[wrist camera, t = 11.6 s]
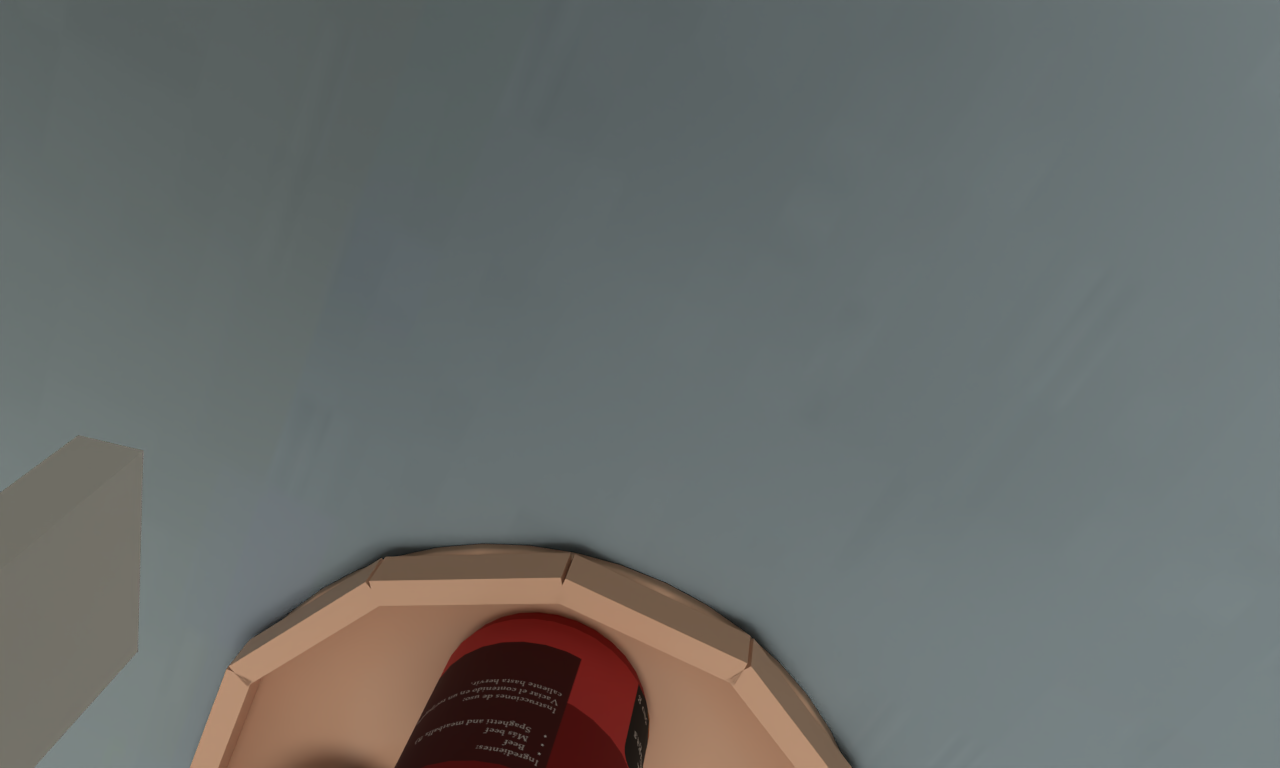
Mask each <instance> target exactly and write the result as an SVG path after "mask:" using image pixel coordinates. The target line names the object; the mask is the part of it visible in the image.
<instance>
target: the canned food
mask: <svg viewBox="0 0 1280 768" xmlns="http://www.w3.org/2000/svg"><path fill="white" fill-rule="evenodd" d="M649 722H650V718H649V713H648V708H647V703H646V698H645V694H644V690H643V687H642V685H641V682H640V680H639V678H638V675H637V673H636V671H635V670H634V668H633V667H632V665H631V664H630V662H629V661H628V659H627V658H626V656H625V655H624V654H623V653H622V652H621V651H620V650H619V649H618V648H617V647H616V646H615V645H614V644H613V643H612V642H611V641H610V640H608V639H607V638H606V637H604V636H603V635H601V634H600V633H599V632H597V631H596V630H594V629H592V628H590V627H588V626H586V625H584V624H582V623H580V622H578V621H576V620H572V619H569V618H566V617H563V616H560V615H554V614H547V613H540V612H533V613H517V614H513V615H509V616H504V617H501V618H499V619H496V620H494V621H492V622H490V623H488V624H486V625H484V626H483V627H482V628H480V629H479V630H477V631H476V632H475V633H474V634H472V635H471V636H470V637H468V638H467V639H466V640H464V641H463V642H462V643H461V644H460V645H459V646H458V648H457V649H456V650H455V651H454V653H453V654H452V655H451V657H450V659H449V661H448V663H447V665H446V666H445V668H444V670H443V672H442V674H441V676H440V678H439V680H438V682H437V684H436V686H435V688H434V690H433V692H432V694H431V696H430V698H429V700H428V702H427V704H426V706H425V708H424V710H423V712H422V714H421V716H420V718H419V720H418V722H417V724H416V726H415V728H414V730H413V732H412V734H411V736H410V738H409V740H408V742H407V744H406V746H405V748H404V750H403V752H402V754H401V756H400V758H399V760H398V762H397V763H396V765H395V767H394V768H643V764H644V759H645V754H646V749H647V744H648V739H649Z"/></svg>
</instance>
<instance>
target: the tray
mask: <svg viewBox="0 0 1280 768" xmlns="http://www.w3.org/2000/svg"><path fill="white" fill-rule="evenodd" d="M533 612H540V613H547V614H554V615H560V616H563V617H566V618H569V619H572V620H576V621H578V622H580V623H582V624H584V625H586V626H588V627H590V628H592V629H594V630H596V631H597V632H599V633H600V634H601V635H603V636H604V637H606V638H607V639H608V640H610V641H611V642H612V643H613V644H614V645H615V646H616V647H617V648H618V649H619V650H620V651H621V652H622V653H623V654H624V655H625V656H626V658H627V659H628V661H629V662H630V664H631V665H632V667H633V668H634V670H635V671H636V673H637V675H638V678H639V680H640V682H641V685H642V687H643V690H644V694H645V698H646V703H647V708H648V713H649V718H650V722H649V739H648V744H647V749H646V754H645V759H644V764H643V768H852V767H851V766H850V765H849V763H848V762H847V761H846V759H845V758H844V757H843V755H842V754H841V752H840V750H839V748H838V746H837V744H836V741H835V739H834V737H833V735H832V733H831V731H830V729H829V727H828V726H827V724H826V723H825V721H824V720H823V718H822V717H821V715H820V714H819V712H818V711H817V709H816V708H815V706H814V705H813V703H812V701H811V700H810V698H809V697H808V695H807V694H806V693H805V692H804V691H803V690H802V688H801V687H800V686H799V685H798V684H797V683H796V681H795V680H794V679H793V678H792V677H791V676H790V674H789V673H788V672H787V671H786V670H785V669H784V668H783V666H782V665H781V664H780V663H779V662H778V661H777V660H776V659H775V658H774V657H773V656H771V655H770V654H769V653H768V652H767V651H766V650H765V649H764V648H763V647H761V646H760V645H759V644H758V643H757V642H756V641H755V639H754V638H753V639H752V638H751V637H750V635H748V634H747V633H746V632H745V631H743V630H742V629H740V628H739V627H737V626H736V625H735V624H733V623H732V622H730V621H729V620H727V619H726V618H725V617H723V616H722V615H720V614H719V613H717V612H716V611H715V610H713V609H712V608H710V607H709V606H707V605H706V604H704V603H702V602H700V601H698V600H696V599H694V598H693V597H691V596H689V595H687V594H685V593H683V592H681V591H680V590H678V589H676V588H674V587H672V586H670V585H668V584H667V583H664V582H662V581H659V580H657V579H654V578H652V577H649V576H647V575H644V574H642V573H639V572H637V571H634V570H632V569H629V568H627V567H624V566H622V565H619V564H615V563H611V562H608V561H604V560H600V559H597V558H593V557H589V556H586V555H582V554H578V553H574V552H568V551H561V550H555V549H548V548H542V547H536V546H529V545H503V544H474V545H462V546H450V547H438V548H433V549H429V550H424V551H419V552H415V553H410V554H405V555H400V556H393V557H385V558H384V560H383V559H382V558H380V559H379V560H377V561H376V562H374V563H372V564H371V565H369V566H368V567H365V568H362V569H359V570H357V571H355V572H353V573H351V574H349V575H347V576H345V577H343V578H341V579H340V580H338V581H336V582H334V583H332V584H330V585H328V586H326V587H324V588H322V589H321V590H320V591H318V592H317V593H316V594H314V595H313V596H311V597H310V598H309V599H307V600H306V601H305V602H303V603H302V604H301V605H299V606H298V607H297V608H295V609H294V610H292V611H291V612H290V613H289V614H288V615H287V616H286V617H285V618H284V619H282V620H281V621H279V622H278V623H276V624H274V625H273V626H271V627H270V628H268V629H266V630H265V631H263V632H262V633H260V634H258V635H257V636H255V637H254V638H252V639H250V640H249V641H248V642H247V644H246V645H245V646H244V647H243V649H242V650H241V651H240V652H239V654H238V655H237V656H236V658H235V659H234V660H233V661H232V663H231V664H230V665H229V667H228V668H227V669H226V672H225V675H224V677H223V680H222V683H221V685H220V688H219V691H218V694H217V696H216V699H215V702H214V704H213V707H212V710H211V712H210V715H209V718H208V721H207V723H206V726H205V729H204V731H203V734H202V737H201V739H200V742H199V745H198V748H197V750H196V753H195V756H194V758H193V761H192V764H191V766H190V768H394V767H395V765H396V763H397V762H398V760H399V758H400V756H401V754H402V752H403V750H404V748H405V746H406V744H407V742H408V740H409V738H410V736H411V734H412V732H413V730H414V728H415V726H416V724H417V722H418V720H419V718H420V716H421V714H422V712H423V710H424V708H425V706H426V704H427V702H428V700H429V698H430V696H431V694H432V692H433V690H434V688H435V686H436V684H437V682H438V680H439V678H440V676H441V674H442V672H443V670H444V668H445V666H446V665H447V663H448V661H449V659H450V657H451V655H452V654H453V653H454V651H455V650H456V649H457V648H458V646H459V645H460V644H461V643H462V642H463V641H464V640H466V639H467V638H468V637H470V636H471V635H472V634H474V633H475V632H476V631H477V630H479V629H480V628H482V627H483V626H484V625H486V624H488V623H490V622H492V621H494V620H496V619H499V618H501V617H504V616H509V615H513V614H517V613H533Z"/></svg>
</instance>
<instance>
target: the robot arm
mask: <svg viewBox="0 0 1280 768" xmlns="http://www.w3.org/2000/svg"><path fill="white" fill-rule="evenodd" d="M142 479H143V450H138V449H134V448H130V447H126V446H121V445H117V444H113V443H109V442H105V441H100V440H96V439H92V438H88V437H83V436H79V435H78V436H77V437H75V438H74V439H73V440H71V441H70V442H68V443H67V444H66V445H64V446H63V447H62V448H60V449H59V450H58V451H56V452H55V453H54V454H52V455H51V456H49V457H48V458H47V459H45V460H44V461H43V462H41V463H40V464H39V465H37V466H36V467H35V468H33V469H32V470H30V471H29V472H28V473H26V474H25V475H24V476H22V477H21V478H20V479H18V480H17V481H15V482H14V483H13V484H11V485H10V486H9V487H7V488H6V489H5V490H3V491H2V492H1V493H0V768H34V767H35V766H36V765H37V764H38V762H39V761H40V760H41V759H42V758H43V757H44V756H45V755H46V753H47V752H48V751H49V750H50V749H51V748H52V747H53V746H54V744H55V743H56V742H57V741H58V740H59V739H60V738H61V737H62V736H63V734H64V733H65V732H66V731H67V730H68V729H69V728H70V727H71V725H72V724H73V723H74V722H75V721H76V720H77V719H78V718H79V717H80V715H81V714H82V713H83V712H84V711H85V710H86V709H87V708H88V706H89V705H90V704H91V703H92V702H93V701H94V700H95V699H96V698H97V696H98V695H99V694H100V693H101V692H102V691H103V690H104V689H105V687H106V686H107V685H108V684H109V683H110V682H111V681H112V680H113V678H114V677H115V676H116V675H117V674H118V673H119V672H120V671H121V670H122V668H123V667H124V666H125V665H126V664H127V663H128V662H129V661H130V659H131V658H132V657H133V656H134V655H135V654H136V653H137V652H138V628H139V591H140V553H141V516H142Z"/></svg>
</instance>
